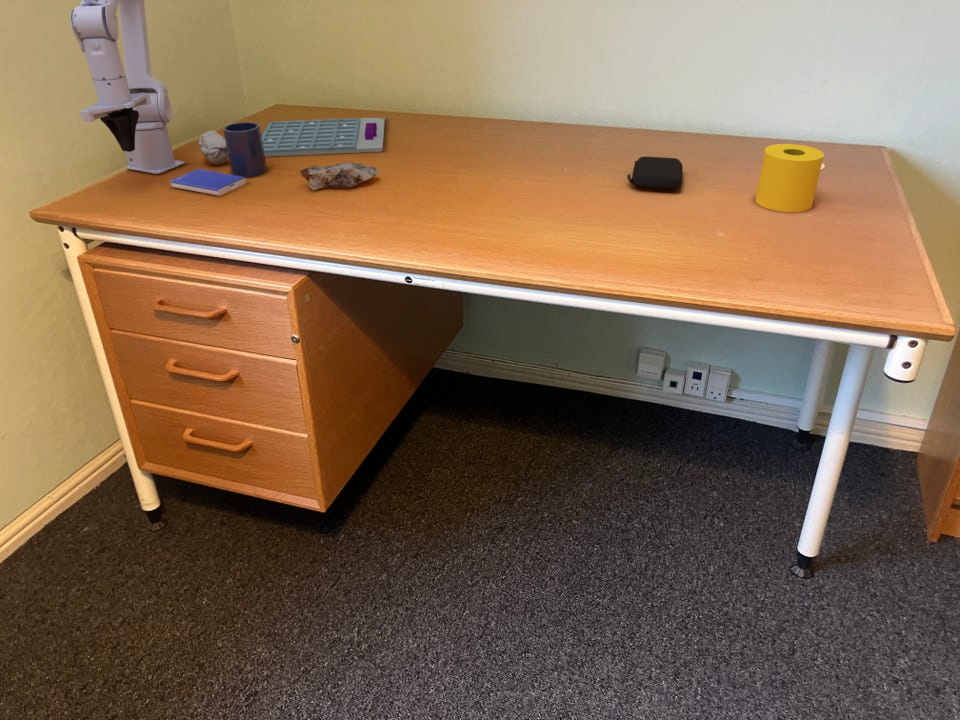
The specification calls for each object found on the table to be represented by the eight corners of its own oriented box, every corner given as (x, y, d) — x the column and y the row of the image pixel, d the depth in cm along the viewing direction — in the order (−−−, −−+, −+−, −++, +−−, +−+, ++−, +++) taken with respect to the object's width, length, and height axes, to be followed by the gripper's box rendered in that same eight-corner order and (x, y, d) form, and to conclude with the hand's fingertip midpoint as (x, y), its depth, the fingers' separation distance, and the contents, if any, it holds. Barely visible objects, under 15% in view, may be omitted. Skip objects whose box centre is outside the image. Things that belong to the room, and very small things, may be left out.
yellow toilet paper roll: (784, 216, 135) (795, 164, 130) (743, 198, 142) (752, 149, 137) (824, 205, 139) (836, 155, 134) (782, 189, 146) (792, 140, 141)
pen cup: (224, 174, 158) (215, 129, 153) (247, 164, 164) (239, 120, 158) (251, 179, 155) (243, 133, 150) (274, 169, 161) (266, 124, 156)
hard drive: (169, 180, 151) (217, 189, 146) (198, 168, 157) (245, 176, 153) (171, 187, 152) (218, 196, 147) (200, 175, 158) (246, 183, 153)
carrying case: (629, 167, 158) (625, 191, 146) (630, 153, 157) (626, 176, 145) (681, 170, 156) (681, 195, 144) (683, 156, 155) (683, 179, 143)
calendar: (272, 123, 191) (270, 114, 190) (385, 119, 193) (384, 109, 192) (254, 157, 168) (252, 146, 167) (382, 152, 170) (381, 141, 169)
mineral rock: (379, 176, 156) (377, 155, 153) (376, 189, 149) (373, 167, 147) (307, 178, 156) (304, 157, 153) (301, 192, 149) (298, 170, 146)
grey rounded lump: (219, 157, 168) (212, 126, 164) (239, 163, 165) (233, 131, 161) (196, 164, 164) (189, 132, 160) (217, 170, 161) (210, 137, 157)
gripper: (92, 87, 131) (113, 164, 139) (155, 70, 142) (172, 142, 150) (63, 84, 134) (86, 159, 141) (127, 67, 145) (145, 138, 152)
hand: (128, 150), depth 146 cm, fingers closed
